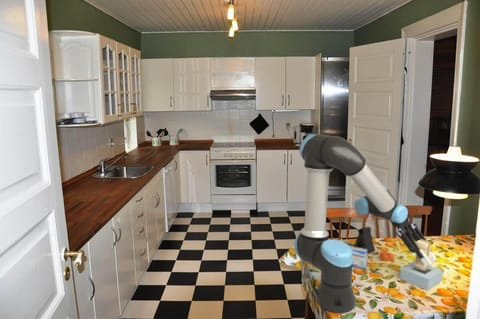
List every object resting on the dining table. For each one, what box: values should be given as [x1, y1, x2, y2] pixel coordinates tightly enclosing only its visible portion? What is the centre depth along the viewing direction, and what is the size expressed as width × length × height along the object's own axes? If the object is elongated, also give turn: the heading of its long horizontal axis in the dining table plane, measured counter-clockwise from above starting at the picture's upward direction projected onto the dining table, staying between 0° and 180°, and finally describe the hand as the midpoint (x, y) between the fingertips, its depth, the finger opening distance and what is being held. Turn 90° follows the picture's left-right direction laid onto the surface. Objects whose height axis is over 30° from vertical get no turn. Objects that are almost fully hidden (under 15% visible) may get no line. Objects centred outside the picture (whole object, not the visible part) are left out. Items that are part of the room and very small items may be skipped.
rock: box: [379, 250, 396, 262], centre depth 174 cm, size 12×12×4 cm
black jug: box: [353, 226, 376, 255], centre depth 184 cm, size 9×6×12 cm, turn 33°
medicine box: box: [349, 245, 368, 270], centre depth 167 cm, size 8×4×9 cm, turn 62°
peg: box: [414, 239, 432, 271], centre depth 151 cm, size 4×4×12 cm
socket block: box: [399, 260, 444, 291], centre depth 153 cm, size 12×12×5 cm
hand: (431, 263), depth 149 cm, fingers closed on peg, 4 cm apart
